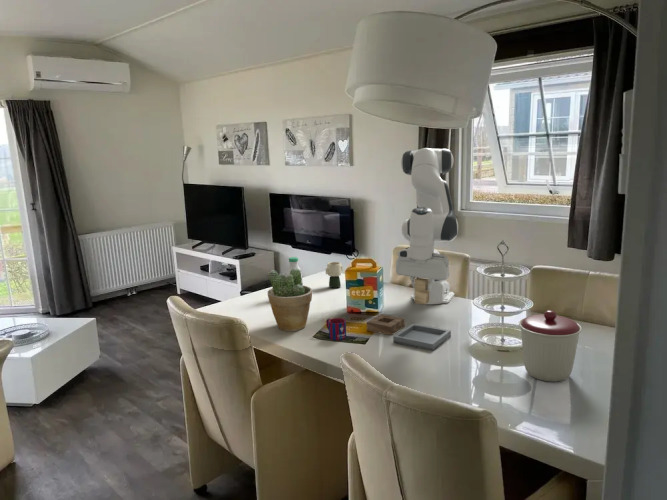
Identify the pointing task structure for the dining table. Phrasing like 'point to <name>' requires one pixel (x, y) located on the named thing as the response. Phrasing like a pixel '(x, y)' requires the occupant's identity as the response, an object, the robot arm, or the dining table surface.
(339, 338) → the cup
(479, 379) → the dining table surface
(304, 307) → the potted plant
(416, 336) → the tray
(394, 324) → the collar
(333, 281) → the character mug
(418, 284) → the peg
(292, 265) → the milk bottle
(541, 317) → the canister
